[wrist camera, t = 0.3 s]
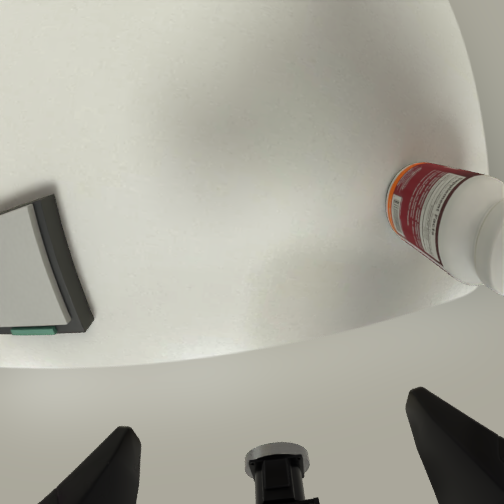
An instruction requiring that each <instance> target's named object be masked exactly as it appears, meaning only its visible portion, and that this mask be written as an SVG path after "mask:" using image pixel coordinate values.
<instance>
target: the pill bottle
mask: <svg viewBox="0 0 504 504" xmlns="http://www.w3.org/2000/svg"><path fill="white" fill-rule="evenodd" d="M386 213H387V218H388V221H389V223H390V225H391V227H392V229H393V230H394V232H395V233H396V234H397V235H398V236H399V237H400V238H401V239H402V240H404V241H405V242H406V243H408V244H409V245H411V246H412V247H413V248H415V249H416V250H418V251H419V252H420V253H422V254H423V255H425V256H426V257H427V258H429V259H430V260H431V261H433V262H434V263H435V264H436V265H438V266H439V267H440V268H442V269H443V270H444V271H446V272H447V273H448V274H449V275H451V276H452V277H454V278H455V279H457V280H458V281H460V282H462V283H464V284H467V285H482V284H484V285H485V286H487V287H488V288H490V289H491V290H493V291H494V292H496V293H497V294H499V295H502V296H504V183H503V182H502V181H500V180H498V179H496V178H494V177H491V176H487V175H484V174H479V173H475V172H471V171H466V170H462V169H457V168H452V167H447V166H442V165H437V164H432V163H424V162H419V163H414V164H411V165H408V166H406V167H405V168H403V169H402V170H401V171H400V172H399V173H398V174H397V175H396V176H395V178H394V179H393V181H392V183H391V185H390V187H389V190H388V193H387V198H386Z"/></svg>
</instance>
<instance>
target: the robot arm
mask: <svg viewBox="0 0 504 504" xmlns="http://www.w3.org/2000/svg"><path fill="white" fill-rule="evenodd" d="M406 413H407V417H408V420H409V423H410V427H411V430H412V433H413V437H414V440H415V444H416V447H417V450H418V453H419V455H420V458H421V460H422V462H423V465H424V467H425V470H426V472H427V475H428V477H429V480H430V482H431V485H432V487H433V489H434V492H435V495H436V498H437V500H438V503H439V504H504V438H502V437H501V436H499V437H498V435H497V434H496V433H494V432H493V431H491V430H489V429H488V428H486V427H484V426H483V425H481V424H480V423H478V422H477V421H475V420H474V419H472V418H470V417H468V416H467V415H466V414H464V413H462V412H461V411H459V410H458V409H456V408H455V407H453V406H451V405H450V404H448V403H447V402H445V401H443V400H442V399H440V398H439V397H437V396H436V395H434V394H433V393H431V392H429V391H428V390H427V389H425V388H423V387H418V388H415V389H412V390H410V392H409V395H408V399H407V403H406ZM140 457H141V442H140V440H139V438H138V437H137V436H136V434H135V433H134V431H133V430H132V428H131V427H128V426H127V427H126V426H119V427H117V428H116V429H115V430H114V431H113V432H112V433H111V434H110V435H109V436H108V438H106V439H105V440H104V441H103V442H102V443H101V444H100V445H99V446H98V447H97V448H96V449H95V450H94V451H93V452H92V453H91V454H90V455H89V456H88V457H87V458H86V459H85V460H84V461H83V462H82V463H81V464H80V465H79V466H78V467H77V468H76V469H75V470H74V471H73V472H72V473H71V474H70V475H69V476H68V477H67V478H65V479H64V480H63V481H62V482H61V483H60V484H59V485H58V486H57V489H54V490H53V491H52V492H51V493H50V494H49V495H47V496H46V497H45V498H44V499H43V500H42V501H41V502H39V503H38V504H136V499H137V494H138V487H139V477H140ZM248 465H249V468H250V470H251V473H252V476H253V478H254V481H255V494H256V504H320V503H319V499H318V497H317V498H313V499H308V500H305V496H304V489H303V483H302V478H304V465H303V455H302V454H296V455H289V456H282V457H274V458H264V459H254V460H249V461H248Z"/></svg>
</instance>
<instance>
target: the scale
mask: <svg viewBox="0 0 504 504" xmlns="http://www.w3.org/2000/svg"><path fill="white" fill-rule="evenodd" d="M93 321H94V318H93V316H92V313H91V311H90V308H89V306H88V303H87V301H86V298H85V295H84V293H83V290H82V287H81V284H80V282H79V279H78V276H77V273H76V270H75V267H74V264H73V261H72V258H71V255H70V252H69V248H68V245H67V242H66V238H65V235H64V232H63V228H62V224H61V221H60V217H59V213H58V209H57V205H56V201H55V197H54V194H53V195H50V196H46V197H43V198H41V199H38V200H35V201H32V202H29V203H26V204H23V205H21V206H18V207H15V208H12V209H10V210H7V211H4V212H2V213H0V334H12V335H55V334H56V333H81V332H86V330H87V329H88V328H89V326H90V325H91V323H92V322H93Z"/></svg>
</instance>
